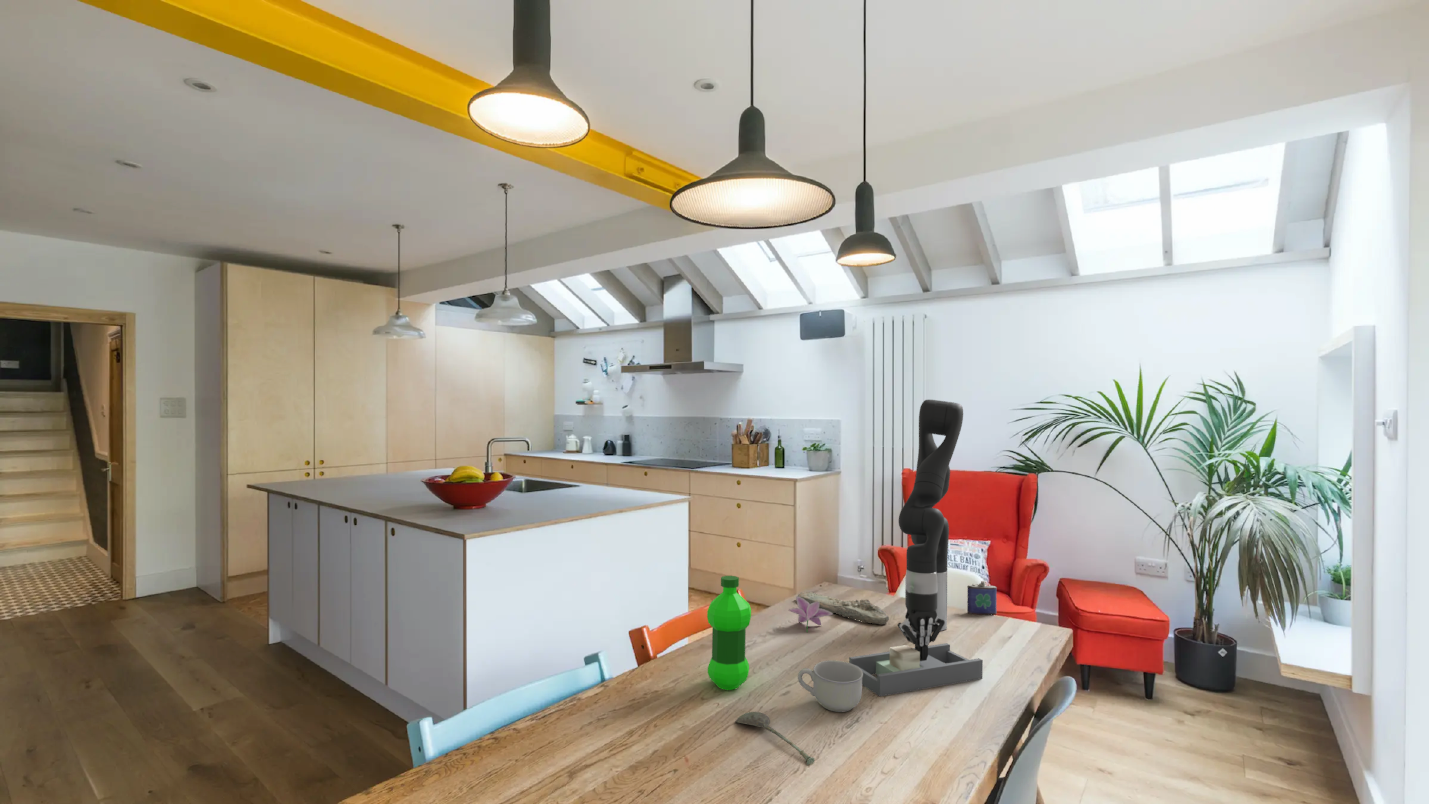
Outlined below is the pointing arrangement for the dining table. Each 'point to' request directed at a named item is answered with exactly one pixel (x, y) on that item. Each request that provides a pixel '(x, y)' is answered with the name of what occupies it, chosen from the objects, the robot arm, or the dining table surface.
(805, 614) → the lily
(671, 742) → the dining table surface
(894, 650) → the block
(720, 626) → the plastic bottle
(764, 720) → the soupspoon
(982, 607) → the blue clover-printed container
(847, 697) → the teacup
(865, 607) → the long grey stone
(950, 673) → the trap lane
